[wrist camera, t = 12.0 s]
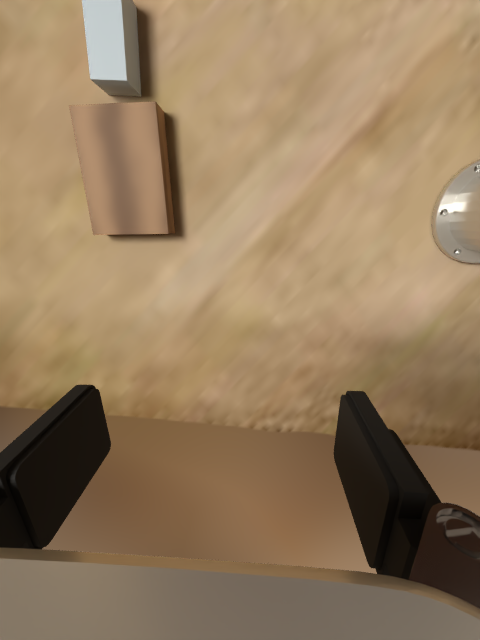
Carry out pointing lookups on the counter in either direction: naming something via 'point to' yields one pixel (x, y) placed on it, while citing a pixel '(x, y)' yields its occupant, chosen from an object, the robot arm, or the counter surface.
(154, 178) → the brown box
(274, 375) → the counter surface
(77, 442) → the robot arm
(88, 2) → the block
